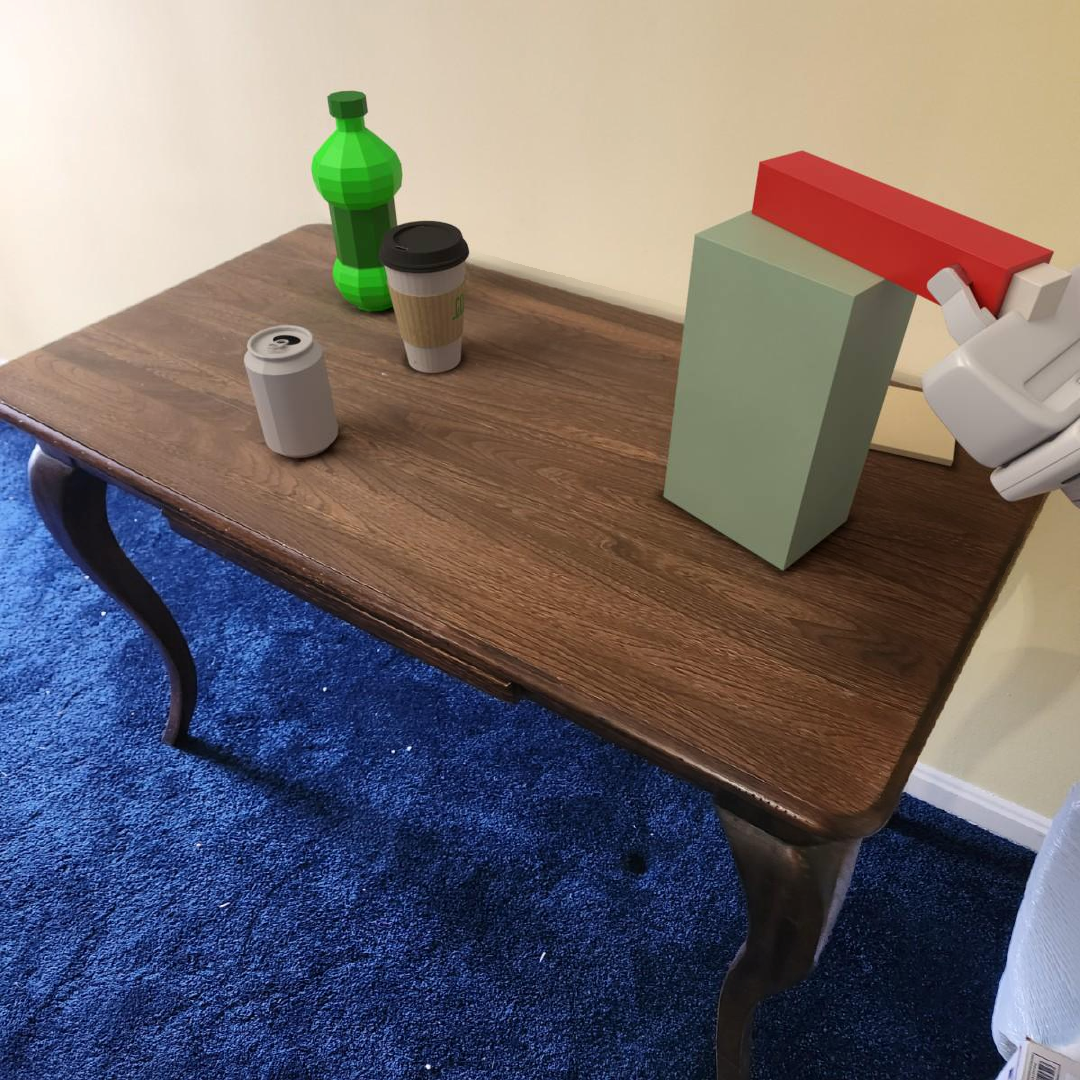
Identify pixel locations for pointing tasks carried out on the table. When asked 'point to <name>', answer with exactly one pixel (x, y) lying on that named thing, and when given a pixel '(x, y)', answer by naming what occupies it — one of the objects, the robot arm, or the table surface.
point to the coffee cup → (427, 290)
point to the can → (291, 391)
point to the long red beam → (905, 235)
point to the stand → (778, 385)
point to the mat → (912, 428)
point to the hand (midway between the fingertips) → (963, 258)
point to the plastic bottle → (358, 200)
